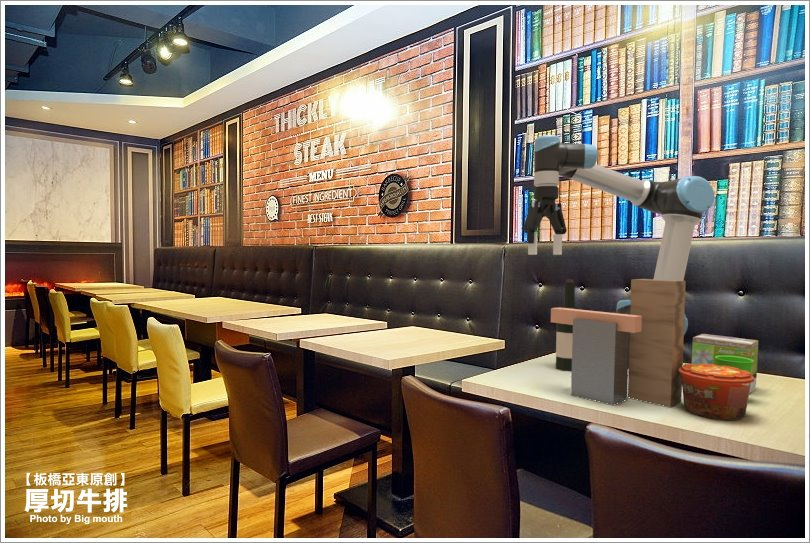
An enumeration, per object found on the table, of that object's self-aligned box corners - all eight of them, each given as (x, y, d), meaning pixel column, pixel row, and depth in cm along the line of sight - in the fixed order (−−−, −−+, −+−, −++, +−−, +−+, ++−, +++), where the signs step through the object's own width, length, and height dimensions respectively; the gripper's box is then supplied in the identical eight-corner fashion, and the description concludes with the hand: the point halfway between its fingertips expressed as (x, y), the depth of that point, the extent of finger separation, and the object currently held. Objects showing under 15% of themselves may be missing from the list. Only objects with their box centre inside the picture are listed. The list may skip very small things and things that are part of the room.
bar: (558, 321, 149) (558, 307, 149) (641, 331, 131) (641, 315, 131) (550, 322, 146) (551, 308, 146) (634, 332, 128) (634, 316, 128)
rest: (585, 390, 145) (587, 316, 144) (627, 400, 136) (629, 321, 135) (570, 395, 140) (573, 318, 139) (613, 405, 131) (615, 323, 130)
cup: (759, 404, 133) (760, 362, 133) (721, 402, 135) (722, 361, 135) (743, 395, 142) (745, 356, 142) (708, 393, 144) (709, 354, 144)
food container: (694, 399, 137) (696, 360, 137) (763, 415, 125) (765, 371, 124) (664, 409, 128) (666, 367, 128) (736, 428, 115) (738, 380, 115)
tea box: (689, 385, 153) (691, 336, 152) (699, 379, 160) (701, 332, 160) (749, 395, 142) (751, 343, 142) (757, 389, 149) (759, 339, 149)
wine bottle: (550, 366, 176) (552, 279, 176) (573, 365, 178) (575, 279, 177) (561, 371, 168) (563, 280, 167) (585, 371, 169) (587, 280, 169)
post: (639, 393, 143) (643, 278, 142) (681, 402, 135) (685, 280, 133) (627, 397, 138) (631, 279, 137) (670, 407, 130) (674, 281, 129)
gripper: (557, 190, 171) (557, 254, 171) (511, 184, 154) (510, 254, 155) (578, 188, 165) (577, 254, 166) (532, 181, 148) (531, 254, 149)
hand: (545, 254), depth 160 cm, fingers open, 13 cm apart
